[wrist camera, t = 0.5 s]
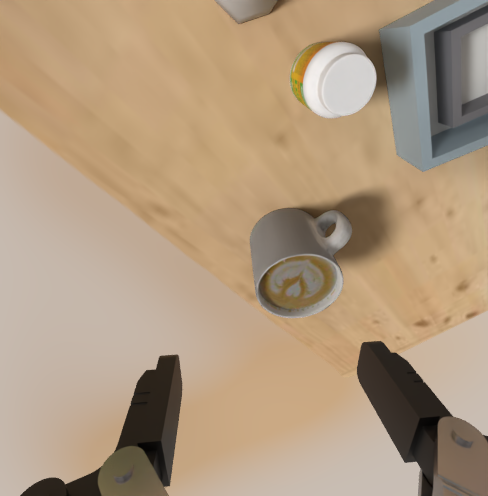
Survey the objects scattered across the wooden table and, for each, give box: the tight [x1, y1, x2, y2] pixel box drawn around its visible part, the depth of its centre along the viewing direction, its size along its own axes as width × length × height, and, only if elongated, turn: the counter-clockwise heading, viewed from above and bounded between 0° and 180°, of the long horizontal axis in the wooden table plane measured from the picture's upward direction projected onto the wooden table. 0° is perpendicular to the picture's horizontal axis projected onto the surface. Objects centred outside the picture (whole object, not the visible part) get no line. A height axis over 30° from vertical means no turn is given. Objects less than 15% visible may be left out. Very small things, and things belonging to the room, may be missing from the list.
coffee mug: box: [250, 208, 352, 318], centre depth 35 cm, size 13×10×10 cm
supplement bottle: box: [290, 42, 376, 118], centre depth 24 cm, size 5×5×10 cm
